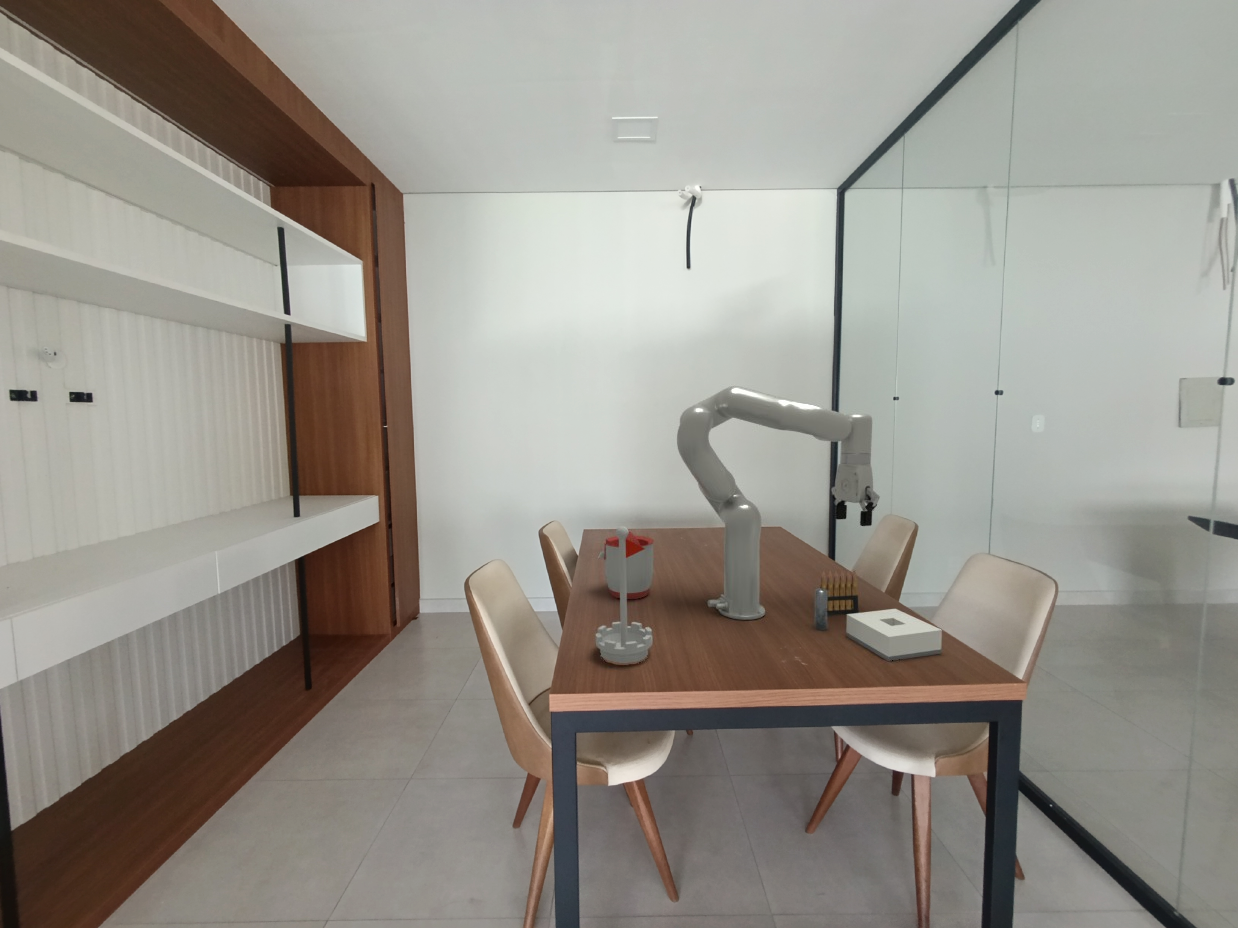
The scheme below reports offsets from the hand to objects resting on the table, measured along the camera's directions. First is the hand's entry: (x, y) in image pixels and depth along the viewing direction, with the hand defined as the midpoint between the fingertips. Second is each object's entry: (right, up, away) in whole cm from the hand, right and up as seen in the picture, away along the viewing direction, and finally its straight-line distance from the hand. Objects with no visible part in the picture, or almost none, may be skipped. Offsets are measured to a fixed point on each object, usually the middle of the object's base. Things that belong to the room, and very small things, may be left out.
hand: (852, 522), depth 142 cm
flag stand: (-63, -28, -22) cm, 72 cm away
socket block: (0, -27, -20) cm, 33 cm away
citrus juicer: (-61, -25, +20) cm, 69 cm away
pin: (-12, -26, -9) cm, 30 cm away
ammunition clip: (-3, -25, +1) cm, 26 cm away
